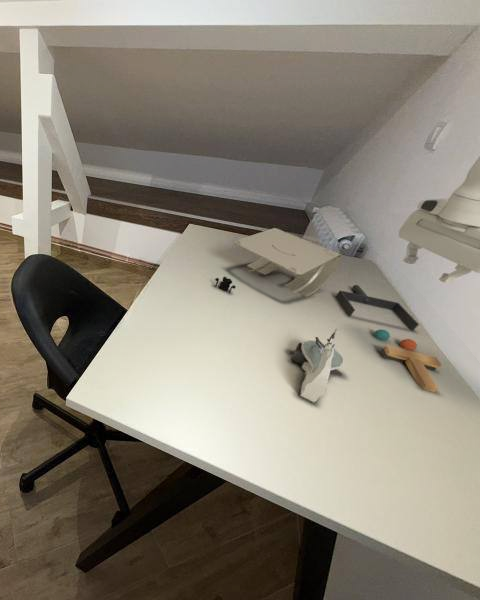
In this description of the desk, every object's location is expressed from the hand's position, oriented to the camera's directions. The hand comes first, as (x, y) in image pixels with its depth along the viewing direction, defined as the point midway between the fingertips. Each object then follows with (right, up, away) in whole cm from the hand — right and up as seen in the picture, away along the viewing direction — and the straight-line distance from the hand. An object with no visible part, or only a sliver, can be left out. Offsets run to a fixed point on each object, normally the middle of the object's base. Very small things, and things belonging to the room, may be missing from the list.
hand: (425, 271), depth 72 cm
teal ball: (+6, -17, +17) cm, 24 cm away
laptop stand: (-10, 0, +42) cm, 43 cm away
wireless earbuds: (-31, -3, +34) cm, 46 cm away
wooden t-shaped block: (+4, -26, +6) cm, 27 cm away
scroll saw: (-25, -25, +3) cm, 35 cm away
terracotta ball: (+11, -19, +14) cm, 26 cm away
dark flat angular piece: (+16, -9, +33) cm, 37 cm away
